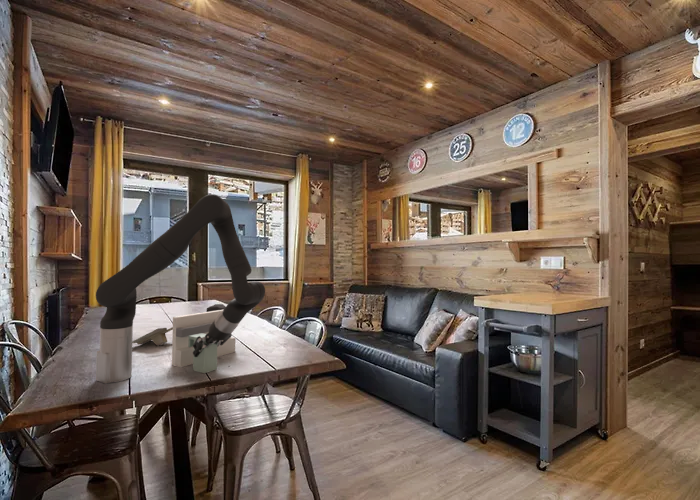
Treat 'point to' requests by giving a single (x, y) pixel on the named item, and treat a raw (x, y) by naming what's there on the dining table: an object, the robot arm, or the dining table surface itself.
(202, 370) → the sage cabinet
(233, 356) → the dining table surface
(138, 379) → the dining table surface
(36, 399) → the dining table surface
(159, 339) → the olive slanted plate stand
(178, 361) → the cleat board
